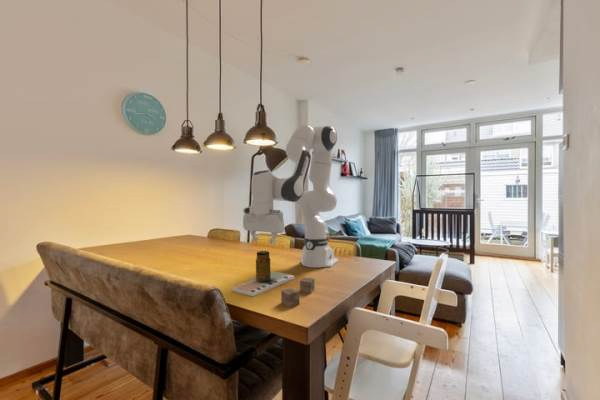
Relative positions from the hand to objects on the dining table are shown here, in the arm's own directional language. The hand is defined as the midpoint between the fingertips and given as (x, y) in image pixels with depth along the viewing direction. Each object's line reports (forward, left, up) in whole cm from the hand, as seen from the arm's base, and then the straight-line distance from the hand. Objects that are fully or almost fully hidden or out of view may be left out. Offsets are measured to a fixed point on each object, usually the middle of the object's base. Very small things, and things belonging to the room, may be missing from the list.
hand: (263, 242), depth 119 cm
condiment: (0, +1, -16) cm, 16 cm away
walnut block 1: (+11, +22, -18) cm, 30 cm away
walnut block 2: (-3, +20, -18) cm, 27 cm away
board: (0, +1, -17) cm, 17 cm away
